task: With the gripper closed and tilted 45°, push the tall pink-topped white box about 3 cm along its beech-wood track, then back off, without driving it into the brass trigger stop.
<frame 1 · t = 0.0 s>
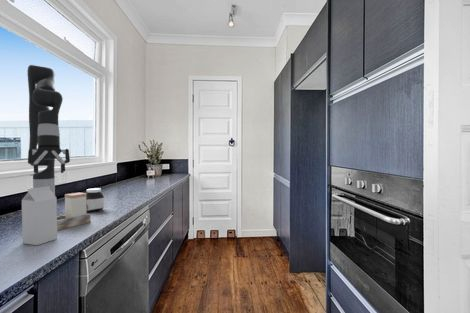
hand: (49, 173, 106), 22 cm above the worktop, tool pointing down, fingers open, 8 cm apart
key track: (66, 224, 108), on the worktop
milk carton: (40, 241, 89), on the worktop
spread jar: (89, 211, 133), on the worktop
pink-topped white box: (75, 206, 111), point 7 cm above the worktop, slide at 0.0 cm
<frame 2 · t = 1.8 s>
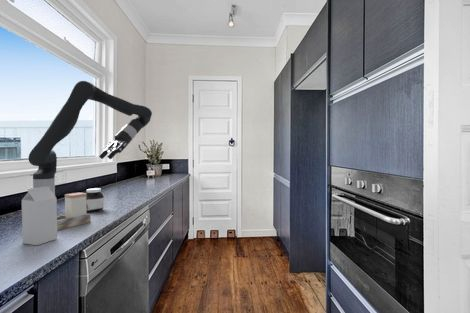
hand: (104, 157, 123), 29 cm above the worktop, tool tilted 45°, fingers open, 7 cm apart
nothing on the worktop moved.
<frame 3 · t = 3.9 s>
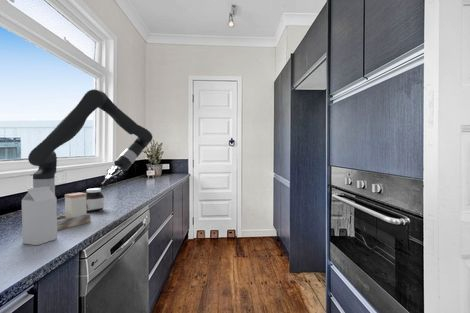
hand: (103, 185, 122), 15 cm above the worktop, tool tilted 45°, fingers closed
nothing on the worktop moved.
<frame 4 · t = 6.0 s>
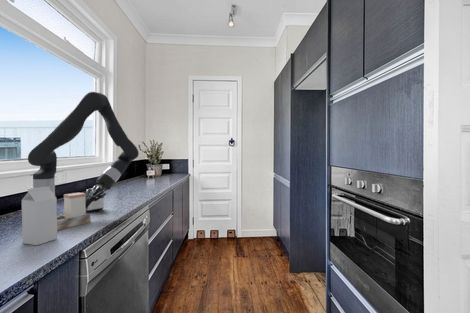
hand: (83, 207, 114), 6 cm above the worktop, tool tilted 45°, fingers closed
pink-topped white box: (74, 206, 111), point 7 cm above the worktop, slide at 0.4 cm, touching gripper
everything else where it was.
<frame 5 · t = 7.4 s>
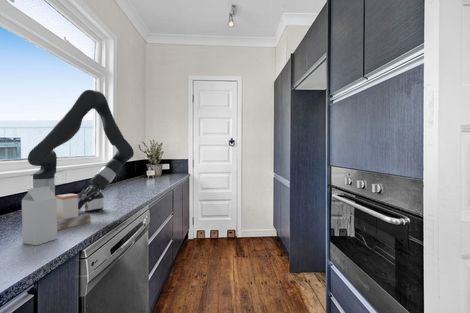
hand: (76, 208, 112), 6 cm above the worktop, tool tilted 45°, fingers closed
pink-topped white box: (67, 207, 108), point 7 cm above the worktop, slide at 3.4 cm
everything else where it was.
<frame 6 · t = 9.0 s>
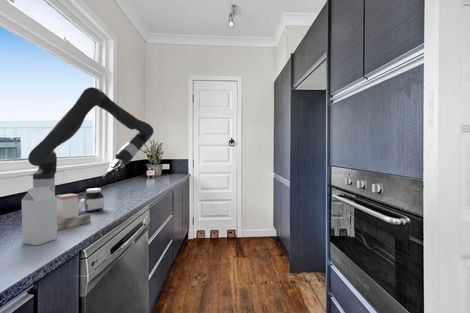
hand: (104, 178, 122), 18 cm above the worktop, tool tilted 45°, fingers closed
nothing on the worktop moved.
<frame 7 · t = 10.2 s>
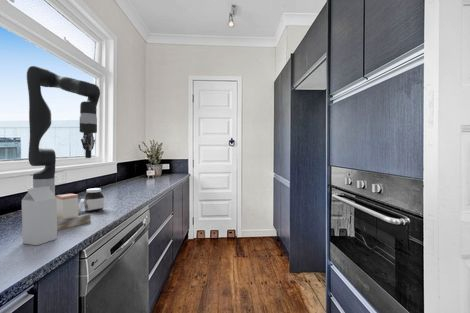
hand: (88, 157, 125), 28 cm above the worktop, tool pointing down, fingers closed
nothing on the worktop moved.
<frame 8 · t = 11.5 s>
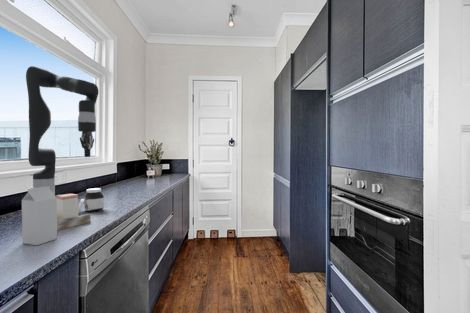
hand: (87, 156, 125), 29 cm above the worktop, tool pointing down, fingers closed
nothing on the worktop moved.
at the end: pink-topped white box slide at 3.4 cm; milk carton moved 0.2 cm from its start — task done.
